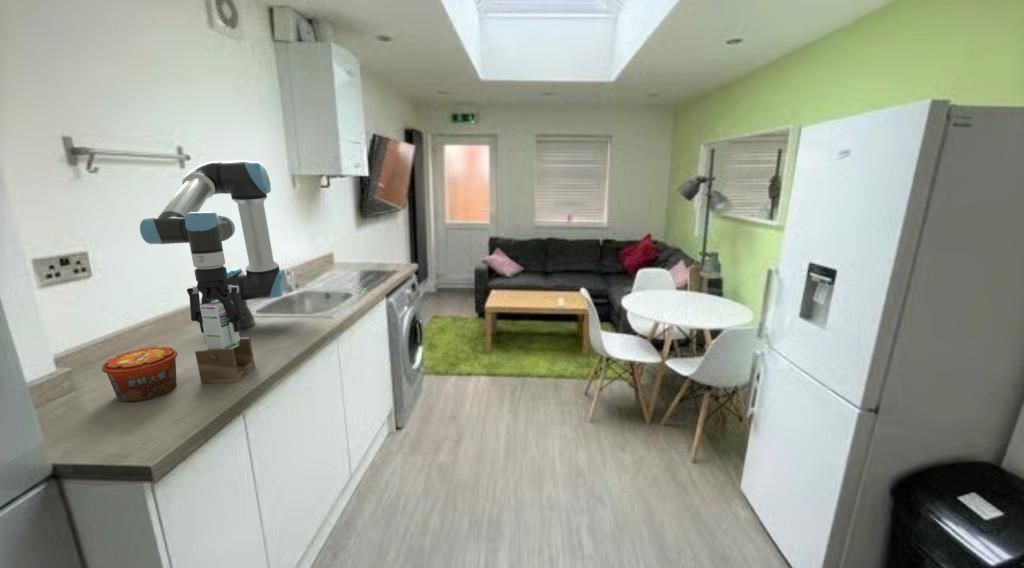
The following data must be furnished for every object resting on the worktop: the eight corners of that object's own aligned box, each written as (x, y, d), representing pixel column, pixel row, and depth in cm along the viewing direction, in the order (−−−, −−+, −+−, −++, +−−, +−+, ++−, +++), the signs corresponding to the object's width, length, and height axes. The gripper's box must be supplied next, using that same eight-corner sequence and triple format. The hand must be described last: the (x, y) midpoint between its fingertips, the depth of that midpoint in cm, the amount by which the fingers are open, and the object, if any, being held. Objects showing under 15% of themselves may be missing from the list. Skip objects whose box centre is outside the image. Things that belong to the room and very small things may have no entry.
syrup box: (224, 353, 126) (216, 305, 122) (207, 351, 127) (199, 304, 123) (240, 345, 131) (233, 300, 128) (223, 344, 132) (216, 298, 129)
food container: (180, 395, 119) (173, 359, 116) (103, 412, 111) (93, 373, 108) (186, 374, 132) (179, 341, 129) (117, 387, 124) (108, 352, 121)
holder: (223, 367, 137) (218, 337, 134) (256, 366, 137) (251, 336, 135) (199, 384, 125) (193, 352, 123) (235, 383, 126) (229, 351, 123)
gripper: (164, 270, 119) (180, 348, 124) (238, 268, 120) (250, 345, 125) (182, 264, 126) (197, 338, 131) (252, 263, 127) (263, 336, 133)
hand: (223, 342), depth 128 cm, fingers closed on syrup box, 7 cm apart
